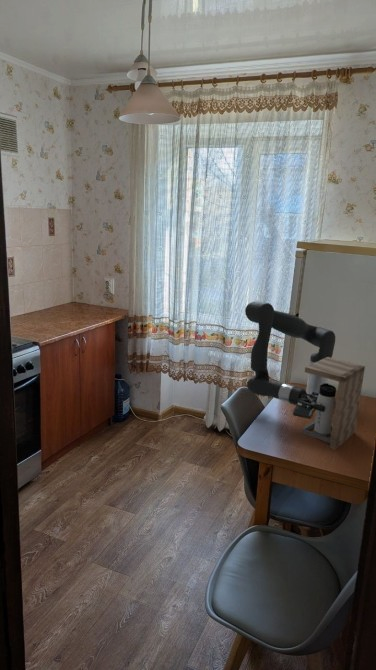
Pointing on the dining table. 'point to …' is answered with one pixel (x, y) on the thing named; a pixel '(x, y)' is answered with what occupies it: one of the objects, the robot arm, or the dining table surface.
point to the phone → (302, 412)
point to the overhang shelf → (342, 395)
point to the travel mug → (325, 417)
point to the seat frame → (315, 435)
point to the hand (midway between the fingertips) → (329, 406)
